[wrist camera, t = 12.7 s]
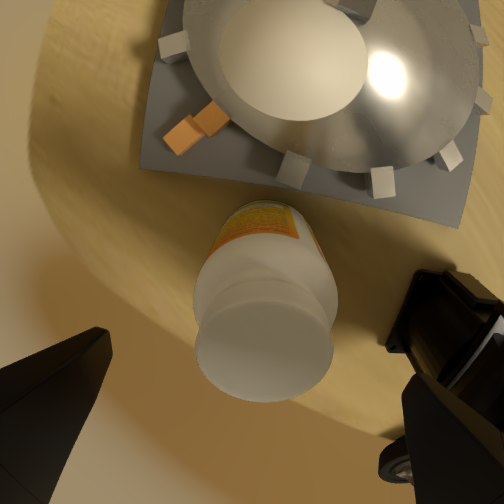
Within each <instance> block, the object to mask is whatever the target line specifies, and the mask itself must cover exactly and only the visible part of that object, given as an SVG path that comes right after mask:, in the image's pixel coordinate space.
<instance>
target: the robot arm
mask: <svg viewBox="0 0 504 504" xmlns="http://www.w3.org/2000/svg"><path fill="white" fill-rule="evenodd" d="M421 276H423V278H422V279H421V280H419V279H420V277H421ZM392 345H394V346H392ZM391 346H392V347H391ZM385 347H386V350H387V351H388V352H389V353H404V354H406V355H407V357H408V359H409V361H410V363H411V365H412V366H413V368H414V370H415V372H416V374H414V375H413V376H412V377H411V379H410V381H409V382H408V384H407V386H406V387H405V389H404V390H403V392H402V397H401V399H402V407H403V416H404V426H405V435H406V442H407V448H408V453H409V459H410V466H411V471H412V477H413V483H414V491H415V498H416V504H504V302H503V301H502V300H500V299H498V298H497V297H496V296H495V295H494V294H492V293H491V292H490V291H489V290H488V289H487V288H486V287H484V286H483V285H482V284H481V282H480V281H478V280H476V279H475V278H474V277H472V276H471V275H470V274H465V273H460V272H455V271H450V270H446V271H444V272H443V273H439V272H434V271H429V270H423V269H420V270H418V271H417V272H416V273H415V275H414V277H413V280H412V282H411V285H410V288H409V290H408V293H407V296H406V298H405V301H404V303H403V306H402V308H401V311H400V313H399V315H398V318H397V320H396V322H395V325H394V327H393V329H392V331H391V334H390V336H389V338H388V340H387V342H386V345H385ZM112 355H113V351H112V344H111V338H110V333H109V331H108V330H107V329H104V328H100V327H93V328H91V329H89V330H86V331H84V332H82V333H80V334H78V335H75V336H73V337H71V338H68V339H66V340H64V341H62V342H59V343H57V344H55V345H53V346H50V347H48V348H46V349H44V350H41V351H39V352H37V353H35V354H32V355H30V356H28V357H26V358H24V359H21V360H19V361H17V362H14V363H12V364H10V365H7V366H5V367H3V368H1V369H0V504H49V502H50V499H51V497H52V494H53V491H54V489H55V487H56V485H57V482H58V480H59V477H60V475H61V473H62V470H63V468H64V466H65V464H66V462H67V459H68V457H69V455H70V453H71V450H72V448H73V446H74V444H75V442H76V440H77V438H78V436H79V434H80V431H81V429H82V427H83V425H84V423H85V421H86V419H87V417H88V415H89V413H90V411H91V409H92V407H93V405H94V403H95V401H96V398H97V396H98V393H99V391H100V388H101V385H102V383H103V380H104V377H105V375H106V372H107V370H108V367H109V364H110V362H111V359H112Z"/></svg>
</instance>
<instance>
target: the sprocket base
mask: <svg viewBox="0 0 504 504" xmlns="http://www.w3.org/2000/svg"><path fill="white" fill-rule="evenodd" d="M457 1H458V2H459V4H460V5H461V7H462V9H463V11H464V13H465V15H466V17H467V19H468V21H469V24H472V25H476V26H479V27H481V20H480V11H479V3H478V0H457ZM184 3H185V0H169V3H168V7H167V11H166V14H165V18H164V22H163V26H162V30H161V34H160V38H162V37H165V36H168V35H171V34H174V33H178V32H181V31H183V21H182V18H183V10H184ZM477 51H478V59H479V85H478V86H480V87H481V88H482V80H483V52H482V48H477ZM212 101H213V99H212V98H211V97H210V95H209V94H208V93H207V92H206V90H205V89H204V87H203V86H202V84H201V82H200V80H199V79H198V77H197V75H196V74H195V72H194V70H193V67H192V65H191V62H190V60H189V58H188V59H185V60H181V61H178V62H175V63H172V64H168V63H166V62H165V61H163V60H162V59H161V55H160V49H159V43H158V47H157V51H156V56H155V61H154V65H153V71H152V76H151V81H150V87H149V93H148V99H147V105H146V112H145V119H144V126H143V134H142V143H141V152H140V163H139V169H145V170H155V171H165V172H174V173H183V174H191V175H199V176H206V177H214V178H221V179H228V180H235V181H241V182H248V183H254V184H260V185H266V186H272V187H278V188H284V189H289V190H295V191H300V192H305V193H310V194H316V195H321V196H326V197H330V198H335V199H340V200H345V201H349V202H354V203H358V204H363V205H367V206H371V207H376V208H380V209H384V210H388V211H392V212H396V213H400V214H404V215H408V216H412V217H416V218H420V219H423V220H427V221H431V222H434V223H438V224H441V225H445V226H448V227H452V228H455V229H458V228H459V225H460V221H461V217H462V214H463V210H464V206H465V202H466V198H467V194H468V189H469V185H470V180H471V175H472V170H473V165H474V159H475V153H476V147H477V140H478V132H479V123H480V115H477V114H476V113H474V112H473V111H471V114H470V115H469V117H468V119H467V121H466V123H465V125H464V126H463V128H462V129H461V130H460V132H459V133H458V134H457V135H456V137H455V138H454V139H453V141H454V143H455V144H456V146H457V148H458V150H459V152H460V154H461V156H462V158H463V161H462V162H461V163H459V164H458V165H457V166H456V167H455V168H454V169H453V170H452V171H451V172H448V171H444V170H440V169H438V167H437V165H436V163H435V161H434V160H433V158H432V156H431V157H430V158H428V159H426V160H423V161H421V162H419V163H417V164H415V165H412V166H408V167H405V168H401V169H398V170H393V172H394V182H395V194H396V196H394V197H386V198H378V199H373V198H371V197H369V196H368V195H366V188H365V179H364V173H354V172H346V171H337V170H332V169H328V168H323V167H319V166H315V165H311V164H310V166H309V169H308V171H307V174H306V177H305V179H304V182H303V184H302V187H301V189H300V190H299V189H297V188H294V187H291V186H289V185H286V184H283V183H281V182H278V181H276V179H275V177H276V174H277V171H278V169H279V166H280V163H281V161H282V158H283V155H284V154H283V153H281V152H279V151H277V150H275V149H273V148H271V147H269V146H268V145H266V144H264V143H263V142H261V141H260V140H258V139H256V138H255V137H253V136H251V135H250V134H249V133H248V132H246V131H245V130H244V129H243V128H241V127H240V126H239V125H237V124H236V123H235V122H234V121H232V122H231V123H230V124H229V125H228V126H227V127H225V128H224V129H223V130H222V131H221V132H220V133H219V134H217V135H216V136H215V137H214V138H213V137H209V136H208V135H207V134H206V133H205V132H204V131H203V130H202V129H201V128H200V126H199V125H198V124H197V123H196V122H195V121H194V120H193V118H194V117H195V116H196V115H197V114H198V113H199V112H201V111H202V110H203V109H204V108H205V107H206V106H207V105H208V104H210V103H211V102H212Z"/></svg>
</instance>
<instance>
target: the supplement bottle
mask: <svg viewBox="0 0 504 504" xmlns="http://www.w3.org/2000/svg"><path fill="white" fill-rule="evenodd" d="M193 309H194V314H195V318H196V321H197V324H198V326H199V331H198V335H197V338H196V344H195V353H196V358H197V362H198V365H199V367H200V369H201V371H202V372H203V374H204V375H205V377H206V378H207V379H208V380H209V381H210V382H211V383H212V384H213V385H214V386H216V387H217V388H218V389H220V390H221V391H223V392H225V393H227V394H229V395H231V396H234V397H237V398H239V399H243V400H248V401H254V402H276V401H282V400H286V399H290V398H293V397H296V396H298V395H301V394H303V393H304V392H306V391H308V390H310V389H311V388H312V387H314V386H315V385H316V384H317V383H318V382H319V381H320V380H321V379H322V378H323V377H324V375H325V374H326V372H327V371H328V369H329V367H330V365H331V361H332V358H333V340H332V336H331V332H330V330H331V328H332V326H333V323H334V321H335V318H336V314H337V310H338V292H337V287H336V284H335V280H334V277H333V274H332V272H331V269H330V267H329V265H328V263H327V261H326V259H325V257H324V255H323V252H322V250H321V248H320V246H319V244H318V242H317V239H316V237H315V235H314V233H313V231H312V229H311V227H310V225H309V224H308V222H307V221H306V219H305V218H304V217H303V216H302V215H301V214H300V213H299V212H298V211H297V210H296V209H294V208H293V207H291V206H289V205H287V204H285V203H282V202H278V201H272V200H260V201H254V202H251V203H248V204H246V205H244V206H242V207H240V208H239V209H237V210H236V211H235V212H234V213H233V214H232V215H231V216H230V217H229V218H228V219H227V220H226V222H225V223H224V225H223V227H222V228H221V230H220V232H219V234H218V236H217V238H216V240H215V242H214V244H213V246H212V248H211V250H210V252H209V254H208V256H207V258H206V260H205V262H204V264H203V266H202V268H201V270H200V272H199V275H198V278H197V280H196V284H195V288H194V295H193Z"/></svg>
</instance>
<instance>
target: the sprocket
mask: <svg viewBox="0 0 504 504" xmlns="http://www.w3.org/2000/svg"><path fill="white" fill-rule="evenodd" d="M182 21H183V31H181V32H178V33H174V34H171V35H168V36H165V37H162V38H159V39H158V43H159V49H160V55H161V59H162V60H163V61H165V62H166V63H168V64H172V63H175V62H178V61H181V60H185V59H188V58H189V60H190V62H191V65H192V67H193V70H194V72H195V74H196V75H197V77H198V79H199V80H200V82H201V84H202V86H203V87H204V89H205V90H206V92H207V93H208V94H209V95H210V97H211V98H212V99H213V101H212V102H211V103H210V104H208V105H207V106H206V107H205V108H204V109H203V110H202V111H201V112H199V113H198V114H197V115H196V116H195V117H194V118H193V120H194V121H195V122H196V123H197V124H198V125H199V126H200V128H201V129H202V130H203V131H204V132H205V133H206V134H207V135H208V136H209V137H213V138H214V137H215V136H216V135H217V134H219V133H220V132H221V131H222V130H223V129H224V128H225V127H227V126H228V125H229V124H230V123H231V122H232V121H234V122H235V123H236V124H237V125H239V126H240V127H241V128H243V129H244V130H245V131H246V132H248V133H249V134H250V135H251V136H253V137H255V138H256V139H258V140H260V141H261V142H263V143H264V144H266V145H268V146H269V147H271V148H273V149H275V150H277V151H279V152H281V153H283V154H284V155H283V158H282V161H281V163H280V166H279V169H278V171H277V174H276V177H275V179H276V181H278V182H281V183H283V184H286V185H289V186H291V187H294V188H297V189H299V190H300V189H301V187H302V184H303V182H304V179H305V177H306V174H307V171H308V169H309V166H310V164H311V165H315V166H319V167H323V168H328V169H332V170H337V171H346V172H354V173H364V179H365V188H366V195H368V196H369V197H371V198H373V199H378V198H386V197H394V196H396V194H395V182H394V172H393V170H398V169H401V168H405V167H408V166H412V165H415V164H417V163H419V162H421V161H423V160H426V159H428V158H430V157H431V156H432V158H433V160H434V161H435V163H436V165H437V167H438V169H440V170H444V171H448V172H451V171H452V170H453V169H454V168H455V167H456V166H457V165H458V164H459V163H461V162H462V161H463V158H462V156H461V154H460V152H459V150H458V148H457V146H456V144H455V143H454V141H453V139H454V138H455V137H456V135H457V134H458V133H459V132H460V130H461V129H462V128H463V126H464V125H465V123H466V121H467V119H468V117H469V115H470V114H471V111H473V112H474V113H476V114H477V115H489V114H490V109H491V105H492V100H493V98H492V97H491V96H490V95H489V94H488V93H487V92H485V91H484V90H483V89H482V88H481V87H480V86H478V85H479V59H478V51H477V48H482V47H485V46H488V45H489V42H488V39H487V36H486V33H485V30H484V28H483V27H479V26H476V25H472V24H469V21H468V19H467V17H466V15H465V13H464V11H463V9H462V7H461V5H460V4H459V2H458V1H457V0H185V3H184V10H183V18H182Z"/></svg>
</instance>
